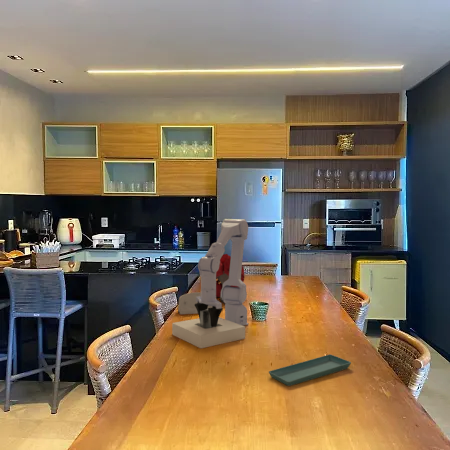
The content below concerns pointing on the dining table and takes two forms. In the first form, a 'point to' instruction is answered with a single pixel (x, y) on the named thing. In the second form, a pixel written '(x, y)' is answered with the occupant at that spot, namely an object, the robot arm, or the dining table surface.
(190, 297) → the grey rounded block
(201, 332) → the well block
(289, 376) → the rectangular tray
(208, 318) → the tall grey block
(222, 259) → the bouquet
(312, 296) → the dining table surface
